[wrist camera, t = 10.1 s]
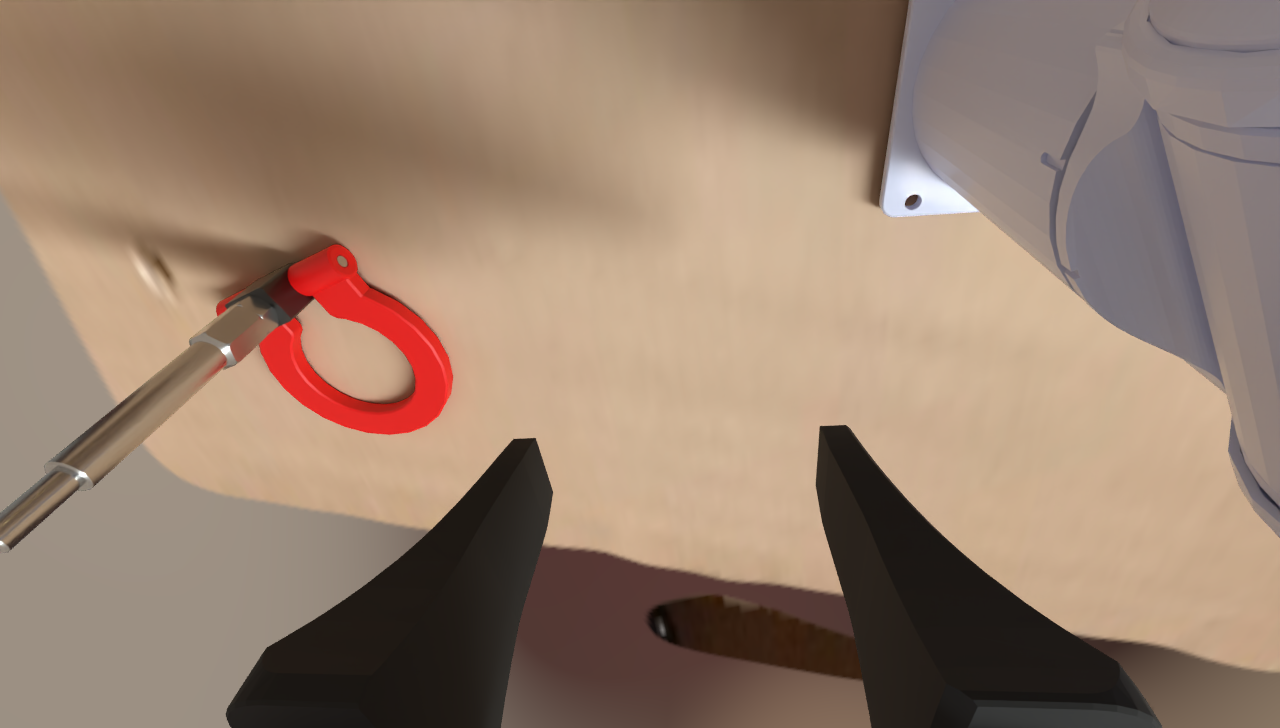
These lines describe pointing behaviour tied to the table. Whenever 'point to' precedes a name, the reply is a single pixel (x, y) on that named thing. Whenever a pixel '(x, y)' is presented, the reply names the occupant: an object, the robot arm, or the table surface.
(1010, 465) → the table surface
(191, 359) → the tow hook
